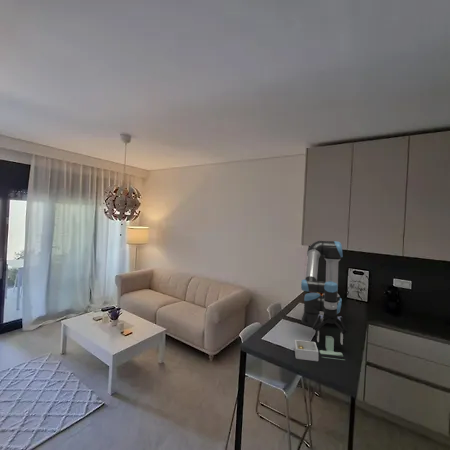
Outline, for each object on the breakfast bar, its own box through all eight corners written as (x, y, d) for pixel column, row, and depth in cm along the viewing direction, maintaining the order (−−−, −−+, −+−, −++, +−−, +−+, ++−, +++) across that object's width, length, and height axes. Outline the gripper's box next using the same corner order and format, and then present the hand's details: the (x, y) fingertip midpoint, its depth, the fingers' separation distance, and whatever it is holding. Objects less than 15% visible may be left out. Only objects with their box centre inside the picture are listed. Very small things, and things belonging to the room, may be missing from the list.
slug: (298, 350, 152) (298, 345, 152) (303, 350, 151) (303, 345, 151) (298, 352, 149) (298, 347, 149) (303, 353, 149) (303, 348, 149)
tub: (294, 349, 154) (294, 339, 154) (315, 352, 152) (315, 342, 152) (295, 359, 143) (296, 349, 143) (318, 362, 140) (318, 351, 140)
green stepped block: (318, 347, 158) (318, 335, 158) (339, 349, 155) (339, 337, 155) (323, 362, 141) (323, 348, 141) (347, 365, 138) (347, 351, 138)
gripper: (309, 308, 153) (309, 342, 154) (354, 311, 148) (353, 347, 149) (308, 304, 161) (307, 337, 161) (350, 307, 156) (349, 341, 156)
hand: (329, 342), depth 155 cm, fingers open, 13 cm apart
